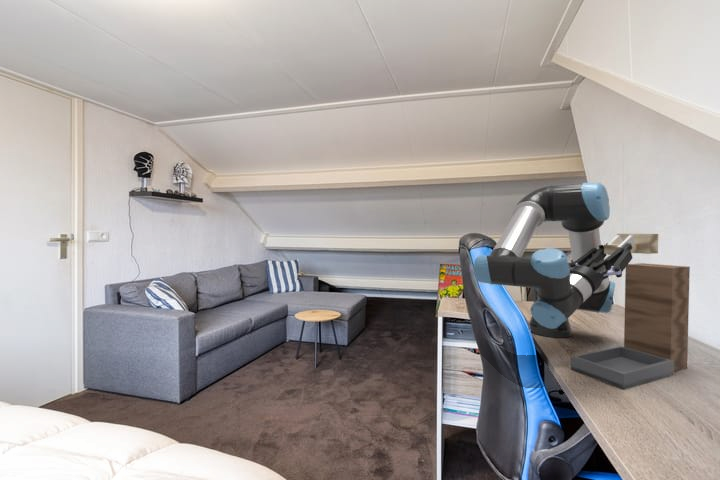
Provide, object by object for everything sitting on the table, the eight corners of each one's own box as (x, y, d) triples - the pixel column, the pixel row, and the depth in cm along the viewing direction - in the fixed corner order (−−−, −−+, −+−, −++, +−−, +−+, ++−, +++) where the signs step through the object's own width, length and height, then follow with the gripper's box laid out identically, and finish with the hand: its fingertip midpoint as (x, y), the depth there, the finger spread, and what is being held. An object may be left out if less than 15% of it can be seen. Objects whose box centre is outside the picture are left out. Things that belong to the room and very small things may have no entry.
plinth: (670, 373, 98) (672, 267, 97) (623, 358, 109) (625, 264, 108) (687, 368, 102) (689, 266, 101) (640, 354, 113) (642, 263, 112)
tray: (623, 389, 88) (624, 374, 88) (570, 369, 101) (571, 355, 101) (673, 374, 97) (674, 360, 97) (619, 358, 110) (619, 345, 110)
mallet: (624, 254, 92) (625, 234, 91) (593, 253, 99) (594, 233, 99) (657, 253, 98) (658, 233, 98) (626, 251, 105) (627, 233, 105)
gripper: (555, 291, 98) (601, 249, 106) (614, 301, 84) (662, 251, 92) (546, 269, 97) (594, 228, 105) (605, 275, 82) (655, 227, 90)
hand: (626, 239), depth 98 cm, fingers closed on mallet, 2 cm apart
